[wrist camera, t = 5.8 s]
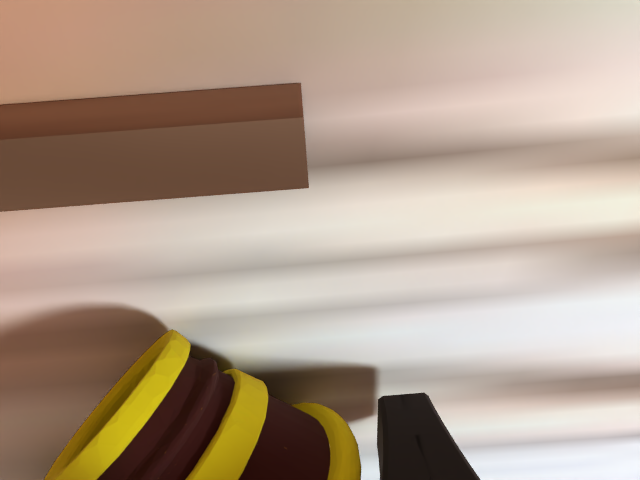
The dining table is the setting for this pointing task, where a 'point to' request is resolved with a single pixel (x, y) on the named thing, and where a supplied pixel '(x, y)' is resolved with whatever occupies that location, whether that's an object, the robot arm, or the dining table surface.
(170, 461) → the opera glasses
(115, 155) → the bar
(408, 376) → the dining table surface
